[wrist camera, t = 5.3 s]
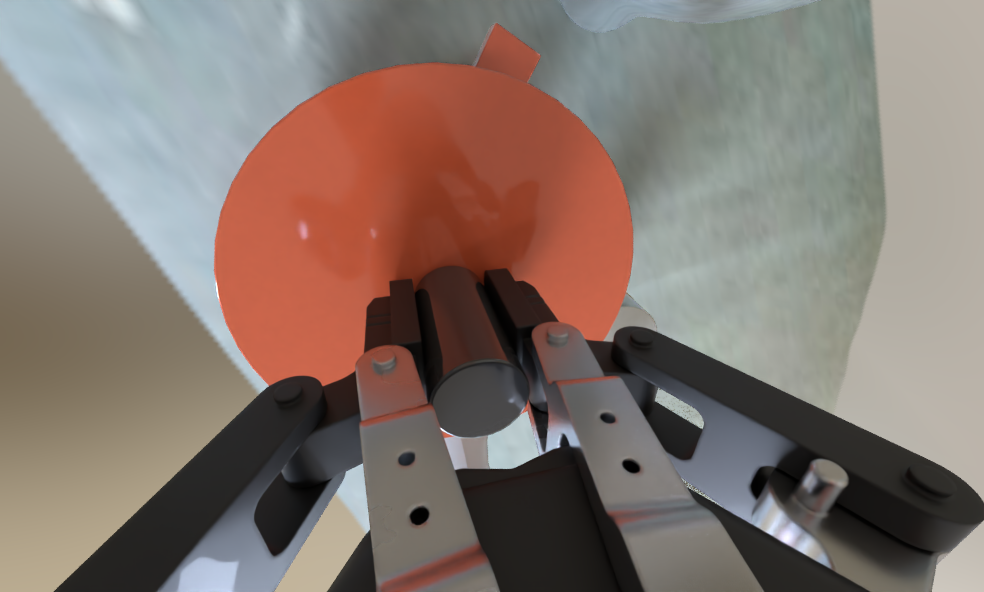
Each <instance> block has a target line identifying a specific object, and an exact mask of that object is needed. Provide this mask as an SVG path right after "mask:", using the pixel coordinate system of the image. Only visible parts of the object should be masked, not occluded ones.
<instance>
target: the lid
mask: <svg viewBox="0 0 984 592" xmlns="http://www.w3.org/2000/svg"><path fill="white" fill-rule="evenodd" d="M632 258H633V227H632V220H631V213H630V207H629V203H628V200H627V196H626V193H625V189H624V186H623V183H622V181H621V179H620V176H619V174H618V172H617V170H616V168H615V165H614V163H613V161H612V160H611V158H610V156H609V155H608V153H607V152H606V150H605V149H604V147H603V146H602V144H601V143H600V141H599V140H598V138H597V137H596V136H595V135H594V134H593V133H592V132H591V131H590V129H589V128H588V127H587V126H586V125H585V124H584V123H583V122H582V120H581V119H580V118H579V117H577V116H576V115H575V114H574V113H572V112H571V111H570V110H569V109H568V108H566V107H565V106H564V105H563V104H562V103H560V102H559V101H558V100H556V99H555V98H553V97H551V96H550V95H548V94H546V93H545V92H543V91H541V90H540V89H538V88H536V87H534V86H533V85H531V84H529V83H526V82H524V81H521V80H519V79H516V78H514V77H511V76H509V75H506V74H504V73H501V72H497V71H493V70H488V69H484V68H480V67H476V66H471V65H464V64H451V63H438V62H429V63H416V64H403V65H395V66H391V67H387V68H382V69H378V70H374V71H370V72H365V73H362V74H359V75H357V76H354V77H352V78H349V79H347V80H344V81H342V82H339V83H337V84H334V85H332V86H329V87H328V88H326V89H324V90H323V91H321V92H319V93H318V94H316V95H314V96H313V97H311V98H309V99H308V100H306V101H304V102H303V103H301V104H299V105H298V106H297V107H295V108H294V109H293V110H292V111H291V112H289V113H288V114H287V115H286V116H285V117H283V118H282V119H281V120H280V121H279V122H278V123H276V124H275V125H274V126H273V127H272V128H271V129H270V130H269V131H268V132H267V133H266V134H265V136H264V137H263V138H262V139H261V140H260V142H259V143H258V144H257V145H256V146H255V147H254V149H253V150H252V151H251V152H250V153H249V155H248V156H247V158H246V160H245V161H244V163H243V165H242V166H241V168H240V170H239V171H238V173H237V175H236V176H235V178H234V180H233V181H232V184H231V186H230V189H229V191H228V194H227V196H226V199H225V202H224V204H223V207H222V209H221V212H220V217H219V222H218V227H217V233H216V238H215V252H214V273H215V280H216V287H217V294H218V299H219V303H220V306H221V309H222V312H223V315H224V318H225V322H226V324H227V326H228V328H229V330H230V332H231V334H232V336H233V338H234V340H235V342H236V344H237V346H238V348H239V350H240V351H241V352H242V354H243V355H244V357H245V358H246V360H247V361H248V362H249V364H250V365H251V367H252V368H253V369H254V370H255V371H256V372H257V373H258V374H259V376H260V377H261V378H262V379H263V380H264V381H265V382H266V383H267V384H268V385H269V386H270V385H272V384H274V383H276V382H278V381H280V380H282V379H285V378H288V377H293V376H303V375H304V376H311V377H314V378H316V379H318V380H319V381H320V382H321V384H322V386H325V385H327V384H330V383H333V382H335V381H338V380H340V379H343V378H345V377H346V376H348V375H350V374H351V373H353V372H354V371H355V364H356V362H357V360H358V359H359V357H360V356H361V355H363V354H364V344H365V328H366V311H367V306H368V305H369V304H370V302H371V301H372V300H373V299H374V298H377V297H386V296H390V285H389V281H393V280H403V279H412V281H413V288H414V294H415V301H416V308H417V314H418V321H419V328H420V334H421V341H422V350H423V358H424V382H425V389H426V397H427V402H428V403H432V405H433V407H434V410H435V413H436V416H437V419H438V422H439V425H440V428H441V430H442V433H443V436H444V438H449V437H460V438H479V437H484V436H488V435H491V434H494V433H496V432H498V431H500V430H502V429H504V428H506V427H507V426H509V425H510V424H511V423H513V422H514V421H515V420H516V419H517V418H518V417H519V416H520V415H521V414H523V413H524V412H526V411H528V409H527V408H528V399H529V394H530V385H529V381H528V378H527V376H526V374H525V372H524V370H523V367H522V365H521V363H520V361H519V359H518V357H517V355H516V353H515V351H514V349H513V346H512V344H511V342H510V340H509V338H508V336H507V334H506V332H505V330H504V328H503V325H502V323H501V321H500V319H499V317H498V315H497V313H496V311H495V309H494V307H493V304H492V302H491V300H490V298H489V296H488V294H487V292H486V290H485V288H484V272H485V270H494V269H503V268H507V269H508V270H509V272H510V273H511V275H512V277H513V278H514V280H515V281H522V280H524V281H525V282H527V283H529V284H531V285H532V286H534V287H535V288H536V290H537V291H538V293H539V294H540V297H542V298H543V300H544V301H545V303H546V304H547V305H548V307H549V308H550V309H551V311H552V312H553V314H554V315H555V316H556V318H557V319H558V321H559V322H562V323H567V324H570V325H572V326H574V327H576V328H577V329H578V330H579V331H580V332H581V333H582V335H583V336H584V338H585V339H586V340H594V341H604V339H605V338H606V336H607V335H608V333H609V331H610V329H611V327H612V325H613V323H614V321H615V319H616V317H617V315H618V313H619V310H620V308H621V305H622V302H623V300H624V297H625V294H626V290H627V286H628V282H629V278H630V274H631V266H632Z"/></svg>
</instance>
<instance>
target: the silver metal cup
mask: <svg viewBox="0 0 984 592" xmlns="http://www.w3.org/2000/svg"><path fill="white" fill-rule="evenodd" d="M559 1H560V3H561V5H562V7H563V9H564V11H565V12H566V14H567V15H568V17H569V18H570V19H571V20H572V21H573V22H574V23H575V24H577V25H578V26H579V27H581V28H583V29H585V30H588V31H591V32H596V33H604V32H609V31H613V30H615V29H618V28H620V27H622V26H624V25H625V24H627V23H628V22H630V21H632V20H633V19H635V18H636V17H640V16H641V17H650V18H655V19H661V20H668V21H675V22H684V23H718V22H728V21H737V20H743V19H748V18H753V17H758V16H763V15H768V14H773V13H777V12H781V11H784V10H788V9H792V8H796V7H800V6H804V5H807V4H811V3H814V2H818V1H821V0H559Z"/></svg>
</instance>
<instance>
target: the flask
mask: <svg viewBox="0 0 984 592" xmlns="http://www.w3.org/2000/svg"><path fill="white" fill-rule="evenodd" d="M444 439H445V442H446V445H447V448H448V451H449V454H450V457H451V460H452V463H453V466H454V469H455V470H457V469H462V468H471V469H490V467H489V463H488V447H487V439H488V436H484V437H479V438H460V437H449V438H444Z"/></svg>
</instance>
